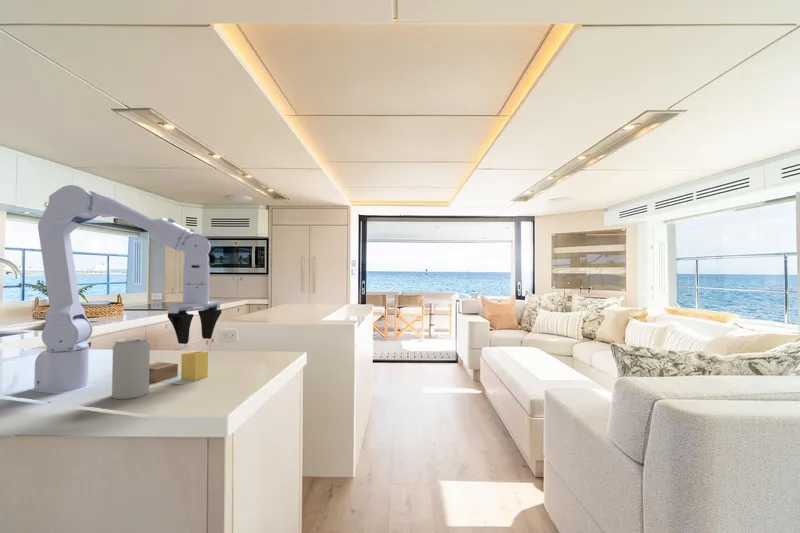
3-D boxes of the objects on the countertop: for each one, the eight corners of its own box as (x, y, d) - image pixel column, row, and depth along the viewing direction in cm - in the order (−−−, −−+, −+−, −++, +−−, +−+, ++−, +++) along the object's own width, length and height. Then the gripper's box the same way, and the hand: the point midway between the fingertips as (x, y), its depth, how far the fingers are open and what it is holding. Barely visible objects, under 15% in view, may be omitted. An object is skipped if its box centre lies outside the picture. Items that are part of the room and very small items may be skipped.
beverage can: (121, 404, 80) (122, 342, 81) (105, 398, 84) (107, 339, 84) (154, 396, 86) (156, 338, 86) (139, 391, 89) (140, 335, 89)
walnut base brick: (136, 380, 96) (136, 367, 96) (157, 374, 102) (158, 362, 102) (156, 382, 94) (157, 369, 94) (177, 376, 100) (177, 363, 100)
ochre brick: (181, 379, 97) (181, 353, 98) (194, 375, 101) (194, 350, 101) (195, 380, 96) (195, 354, 96) (207, 376, 100) (207, 351, 100)
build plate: (141, 382, 96) (141, 380, 96) (169, 374, 104) (169, 372, 104) (183, 386, 93) (183, 384, 93) (209, 378, 101) (209, 375, 101)
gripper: (186, 285, 91) (185, 346, 91) (230, 283, 105) (229, 337, 105) (161, 284, 93) (160, 345, 93) (207, 283, 107) (206, 335, 107)
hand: (195, 340), depth 99 cm, fingers open, 7 cm apart
